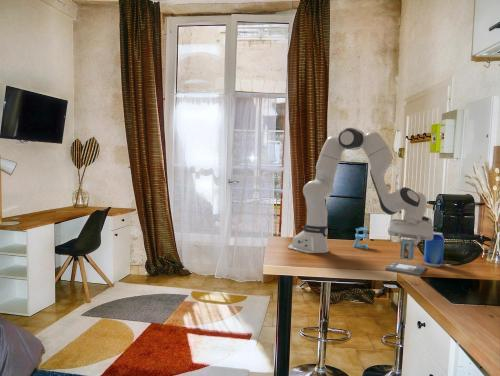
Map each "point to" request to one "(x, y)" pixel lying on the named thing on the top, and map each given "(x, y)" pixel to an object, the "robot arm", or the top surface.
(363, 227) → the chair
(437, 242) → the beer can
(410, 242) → the slotted cup
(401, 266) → the card
